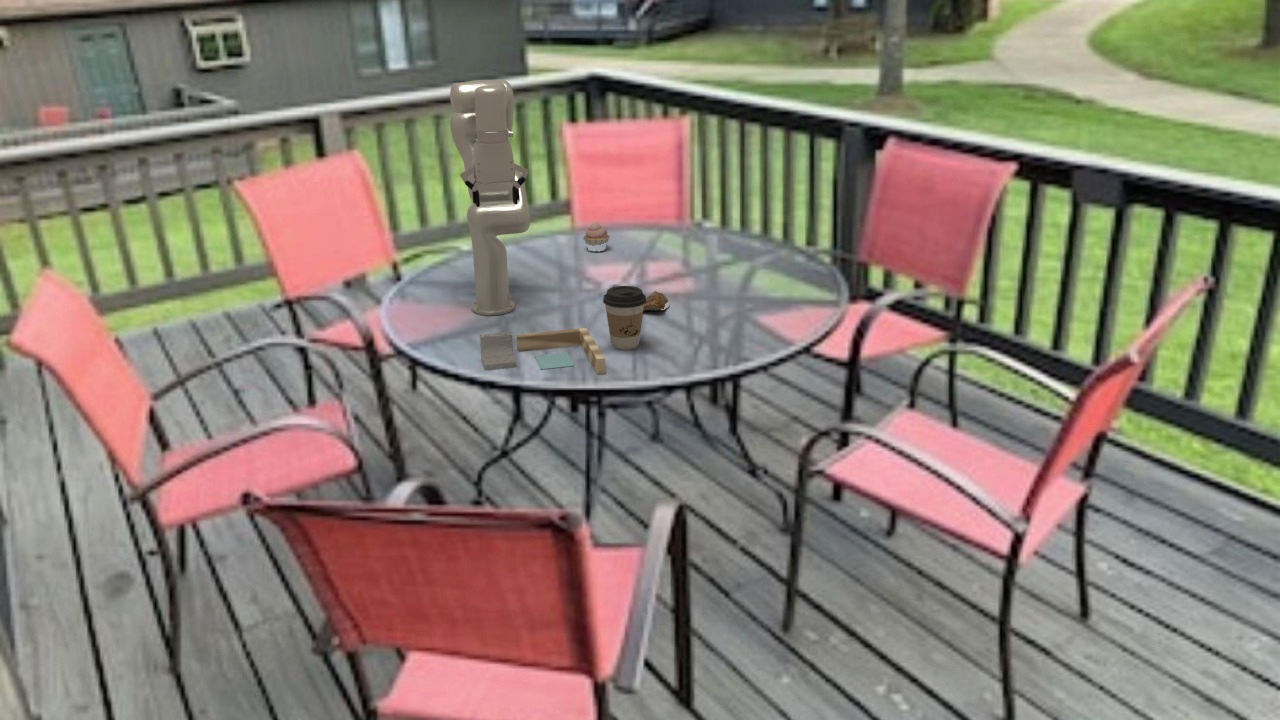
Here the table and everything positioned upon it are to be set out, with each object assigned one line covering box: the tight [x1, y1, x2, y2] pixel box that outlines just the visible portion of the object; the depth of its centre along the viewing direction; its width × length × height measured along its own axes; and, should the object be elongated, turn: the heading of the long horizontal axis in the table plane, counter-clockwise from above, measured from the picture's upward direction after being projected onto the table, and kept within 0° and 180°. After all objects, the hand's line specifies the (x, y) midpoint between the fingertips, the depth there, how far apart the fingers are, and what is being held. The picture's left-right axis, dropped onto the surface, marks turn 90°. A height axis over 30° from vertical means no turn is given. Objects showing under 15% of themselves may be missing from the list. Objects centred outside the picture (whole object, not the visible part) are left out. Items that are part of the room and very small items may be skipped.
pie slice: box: [643, 290, 669, 311], centre depth 289 cm, size 10×4×15 cm
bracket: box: [479, 331, 518, 371], centre depth 251 cm, size 8×7×7 cm
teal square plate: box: [534, 352, 575, 371], centre depth 253 cm, size 9×8×1 cm
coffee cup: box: [602, 285, 647, 351], centre depth 261 cm, size 11×11×15 cm
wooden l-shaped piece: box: [516, 327, 606, 375], centre depth 253 cm, size 22×18×4 cm
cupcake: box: [583, 221, 610, 246], centre depth 343 cm, size 9×9×10 cm
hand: (496, 204), depth 255 cm, fingers open, 9 cm apart
